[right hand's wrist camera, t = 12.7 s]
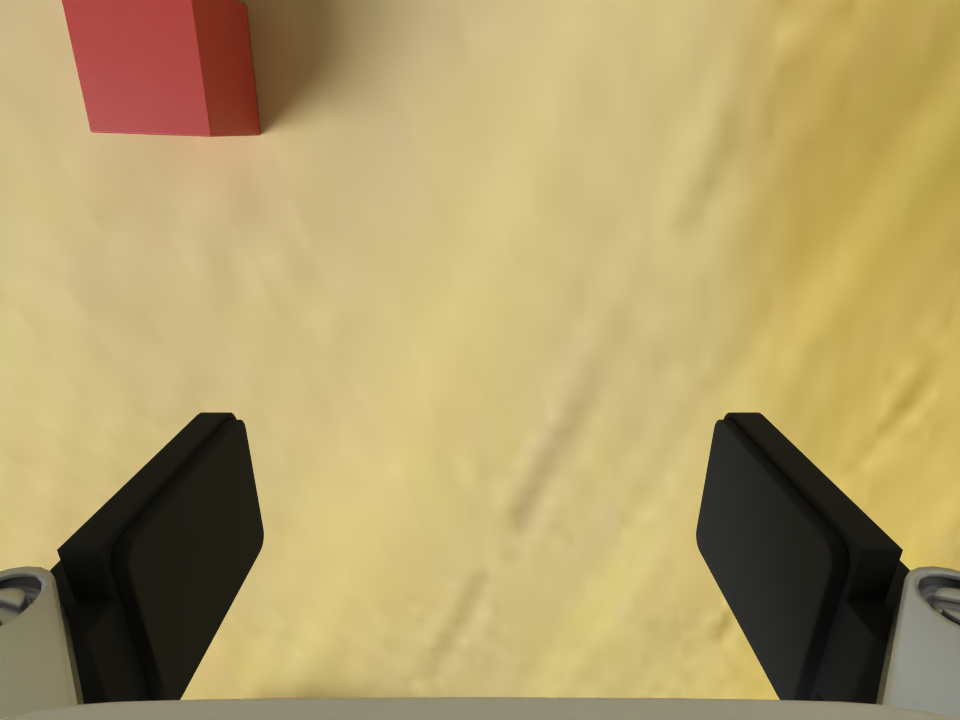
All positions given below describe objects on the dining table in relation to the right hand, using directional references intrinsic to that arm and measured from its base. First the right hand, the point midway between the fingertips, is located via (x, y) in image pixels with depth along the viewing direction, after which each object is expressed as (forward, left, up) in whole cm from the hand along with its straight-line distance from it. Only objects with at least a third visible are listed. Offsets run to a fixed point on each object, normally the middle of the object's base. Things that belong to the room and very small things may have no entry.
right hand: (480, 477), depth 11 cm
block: (-1, -15, -17) cm, 23 cm away
